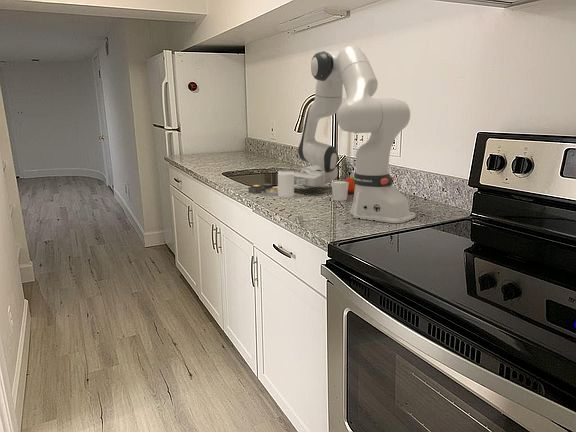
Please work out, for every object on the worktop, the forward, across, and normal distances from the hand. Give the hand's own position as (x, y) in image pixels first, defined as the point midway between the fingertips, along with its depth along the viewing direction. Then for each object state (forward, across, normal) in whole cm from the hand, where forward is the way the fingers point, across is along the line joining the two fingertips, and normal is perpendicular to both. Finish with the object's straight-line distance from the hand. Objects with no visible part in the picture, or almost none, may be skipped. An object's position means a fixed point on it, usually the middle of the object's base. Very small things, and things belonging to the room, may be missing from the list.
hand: (287, 181), depth 185 cm
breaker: (+4, -15, +5) cm, 16 cm away
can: (+2, 0, +7) cm, 7 cm away
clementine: (-24, +15, +7) cm, 30 cm away
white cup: (-12, +18, +7) cm, 22 cm away
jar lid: (-1, -8, +6) cm, 10 cm away
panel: (0, -10, +7) cm, 12 cm away
